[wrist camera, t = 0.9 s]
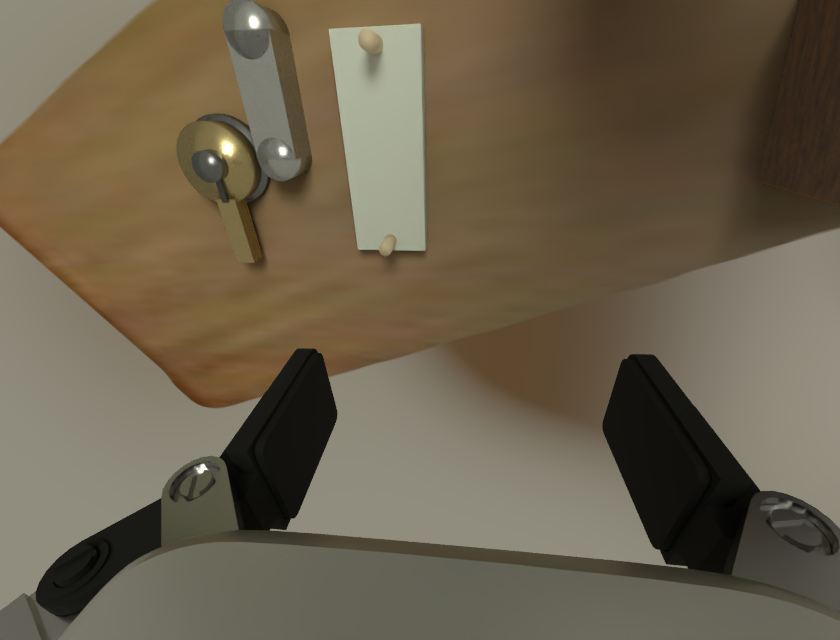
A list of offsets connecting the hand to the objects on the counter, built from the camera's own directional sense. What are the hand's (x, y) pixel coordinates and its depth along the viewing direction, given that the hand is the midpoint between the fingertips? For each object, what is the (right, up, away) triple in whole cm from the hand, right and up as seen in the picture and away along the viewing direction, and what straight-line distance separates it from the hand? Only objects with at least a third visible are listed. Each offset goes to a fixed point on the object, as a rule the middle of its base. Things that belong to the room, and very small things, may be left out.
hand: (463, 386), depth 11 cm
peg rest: (-5, +20, +25) cm, 32 cm away
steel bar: (-15, +25, +24) cm, 37 cm away
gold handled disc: (-23, +17, +28) cm, 40 cm away
